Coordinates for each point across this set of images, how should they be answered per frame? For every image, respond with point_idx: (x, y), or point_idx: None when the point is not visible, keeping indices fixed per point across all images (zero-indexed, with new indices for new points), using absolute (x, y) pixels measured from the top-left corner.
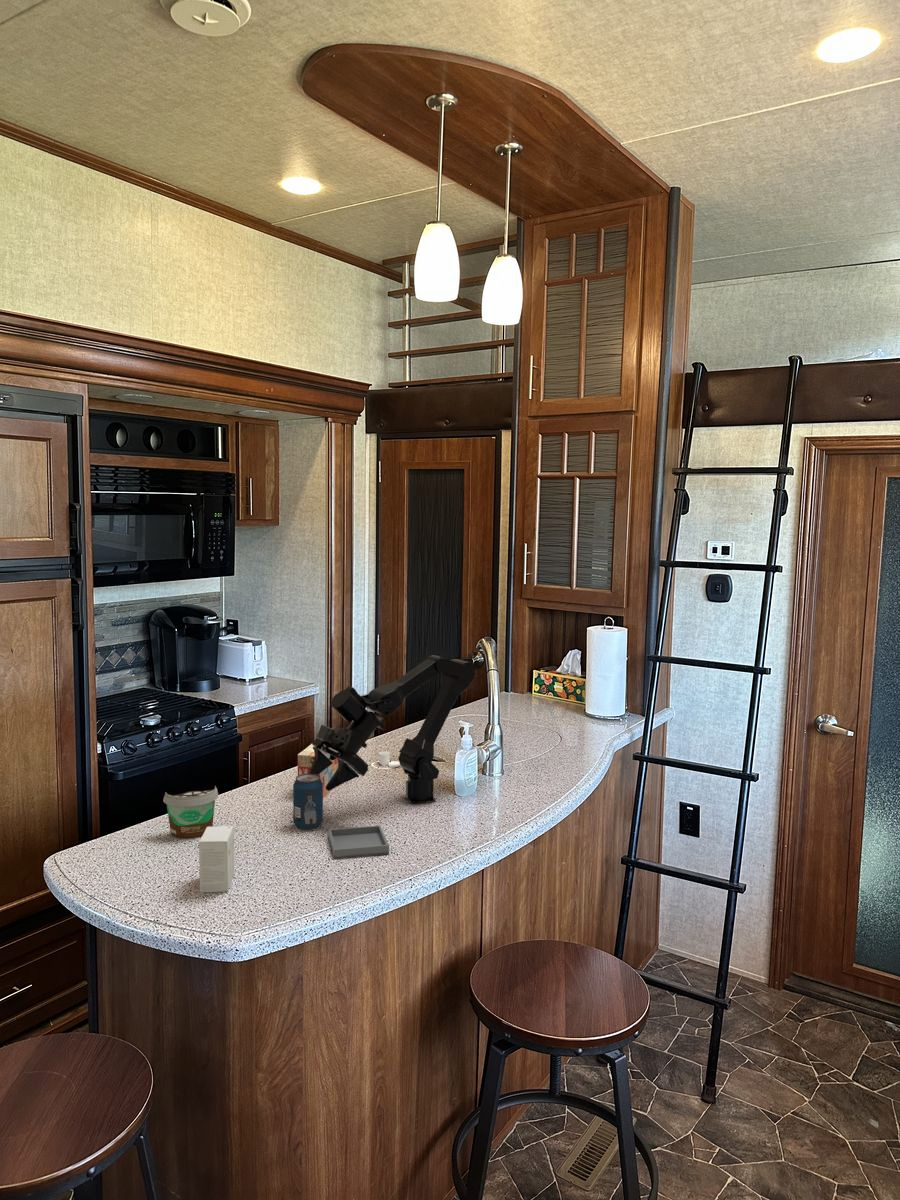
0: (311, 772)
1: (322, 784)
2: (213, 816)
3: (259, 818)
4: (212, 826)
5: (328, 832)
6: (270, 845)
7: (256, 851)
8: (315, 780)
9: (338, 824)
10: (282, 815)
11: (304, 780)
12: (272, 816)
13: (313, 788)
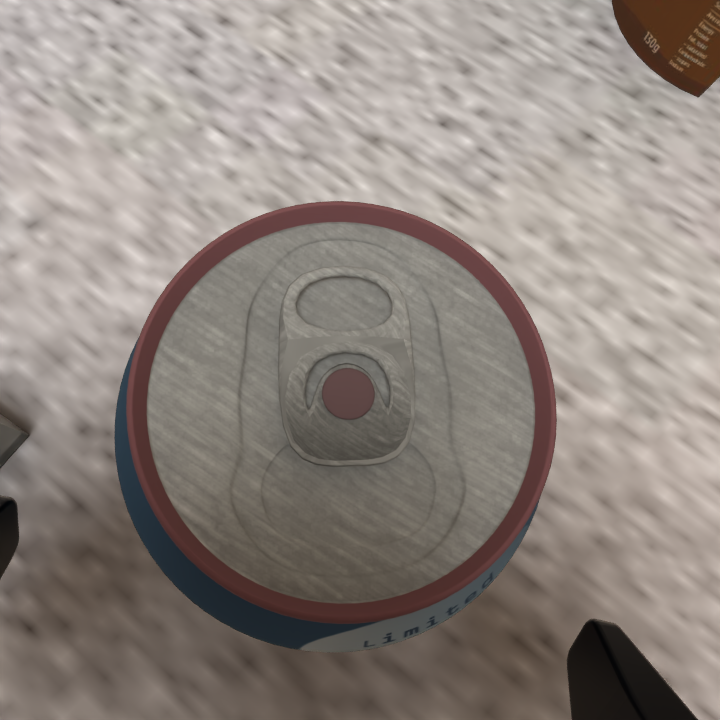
0: (628, 709)
1: (161, 566)
2: (712, 24)
3: (660, 343)
4: (673, 63)
5: (11, 427)
6: (245, 127)
7: (237, 38)
8: (129, 381)
9: (162, 679)
10: (615, 484)
11: (294, 277)
12: (640, 423)
13: (134, 347)
